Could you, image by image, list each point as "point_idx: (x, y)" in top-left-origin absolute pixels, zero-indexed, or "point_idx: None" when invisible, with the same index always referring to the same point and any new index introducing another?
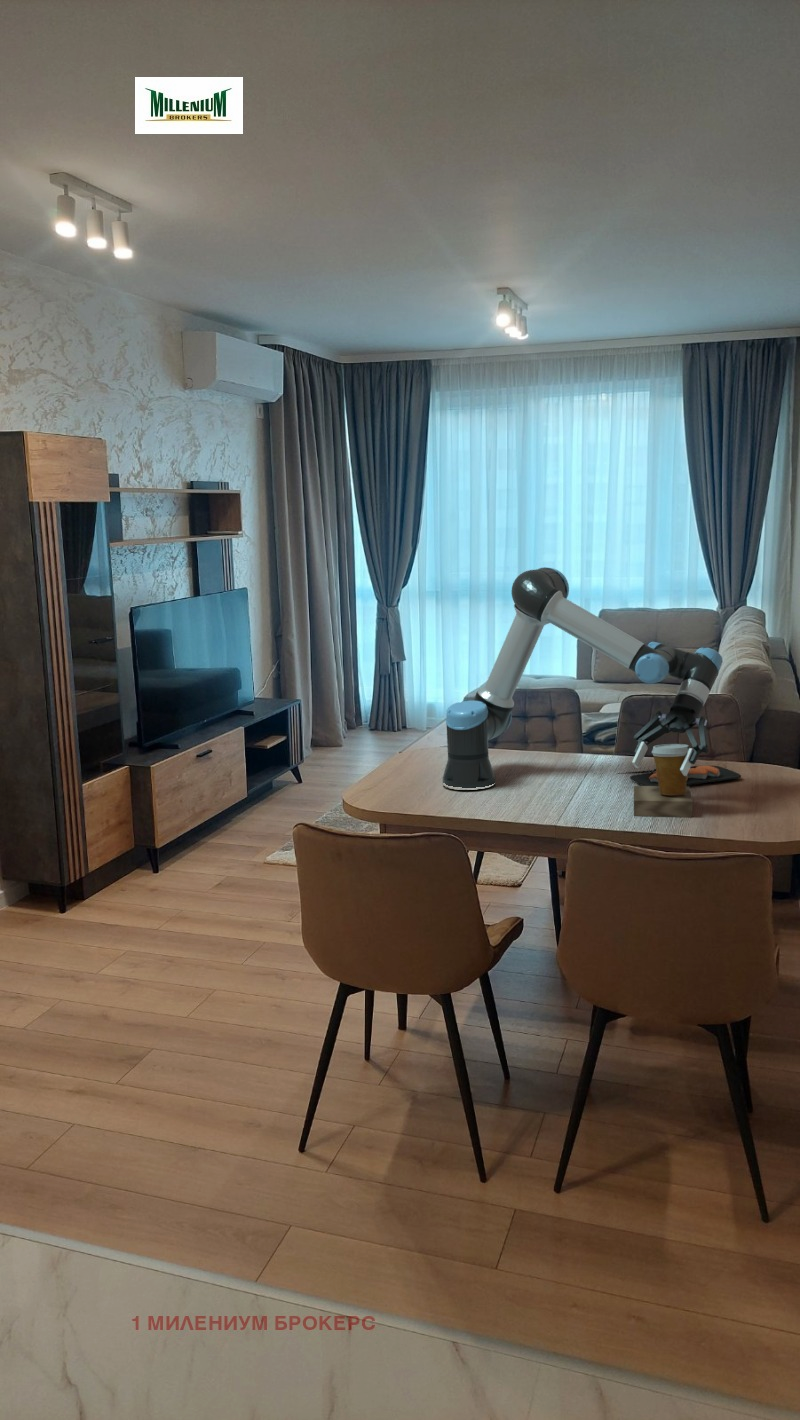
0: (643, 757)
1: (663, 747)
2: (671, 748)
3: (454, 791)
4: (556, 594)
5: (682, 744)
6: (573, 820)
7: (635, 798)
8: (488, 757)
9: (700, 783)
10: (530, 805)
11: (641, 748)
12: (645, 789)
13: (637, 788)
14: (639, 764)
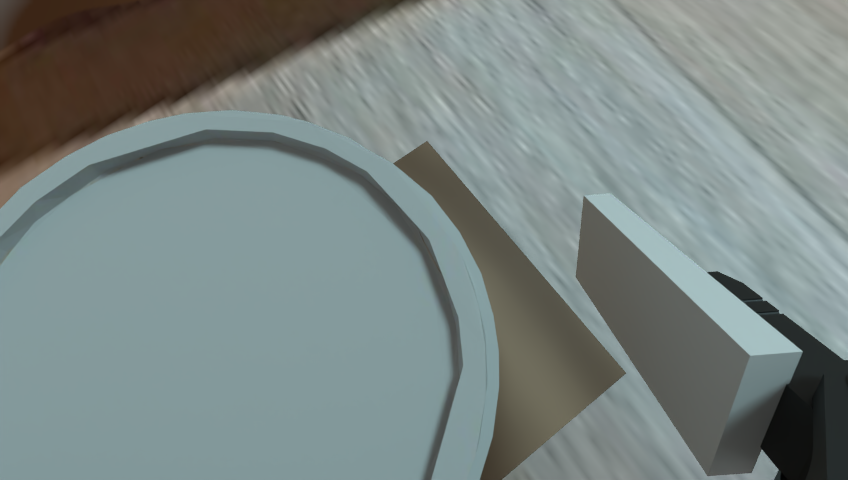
0: (626, 351)
1: (329, 324)
2: (79, 154)
3: None
4: None
5: None
6: (557, 9)
7: (443, 171)
8: None
9: None
10: (824, 36)
11: (670, 287)
12: (516, 345)
13: (565, 334)
14: (588, 284)
